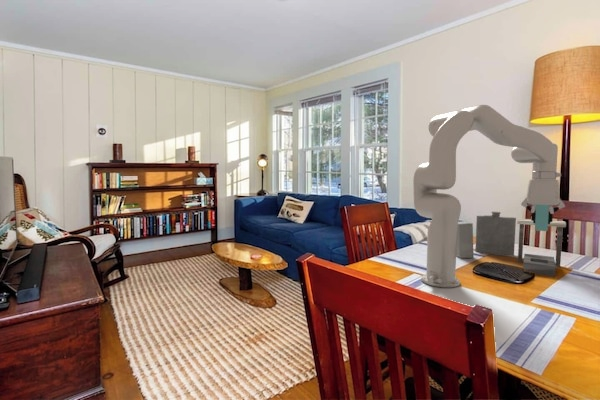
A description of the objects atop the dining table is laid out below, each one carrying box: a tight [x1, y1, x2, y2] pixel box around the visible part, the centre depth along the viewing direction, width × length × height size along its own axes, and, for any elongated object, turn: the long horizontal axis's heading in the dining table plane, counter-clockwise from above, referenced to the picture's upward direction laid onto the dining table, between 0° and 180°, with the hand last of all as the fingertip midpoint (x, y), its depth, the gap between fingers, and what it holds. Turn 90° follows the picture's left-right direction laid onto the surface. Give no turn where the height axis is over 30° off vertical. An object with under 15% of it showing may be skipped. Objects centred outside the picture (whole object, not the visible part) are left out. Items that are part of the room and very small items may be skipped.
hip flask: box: [474, 211, 517, 257], centre depth 159 cm, size 16×4×20 cm, turn 60°
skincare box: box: [456, 220, 475, 259], centre depth 155 cm, size 8×7×16 cm
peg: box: [534, 205, 549, 232], centre depth 131 cm, size 4×4×10 cm
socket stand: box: [516, 218, 567, 278], centre depth 135 cm, size 18×16×18 cm
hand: (541, 222), depth 131 cm, fingers closed on peg, 4 cm apart
